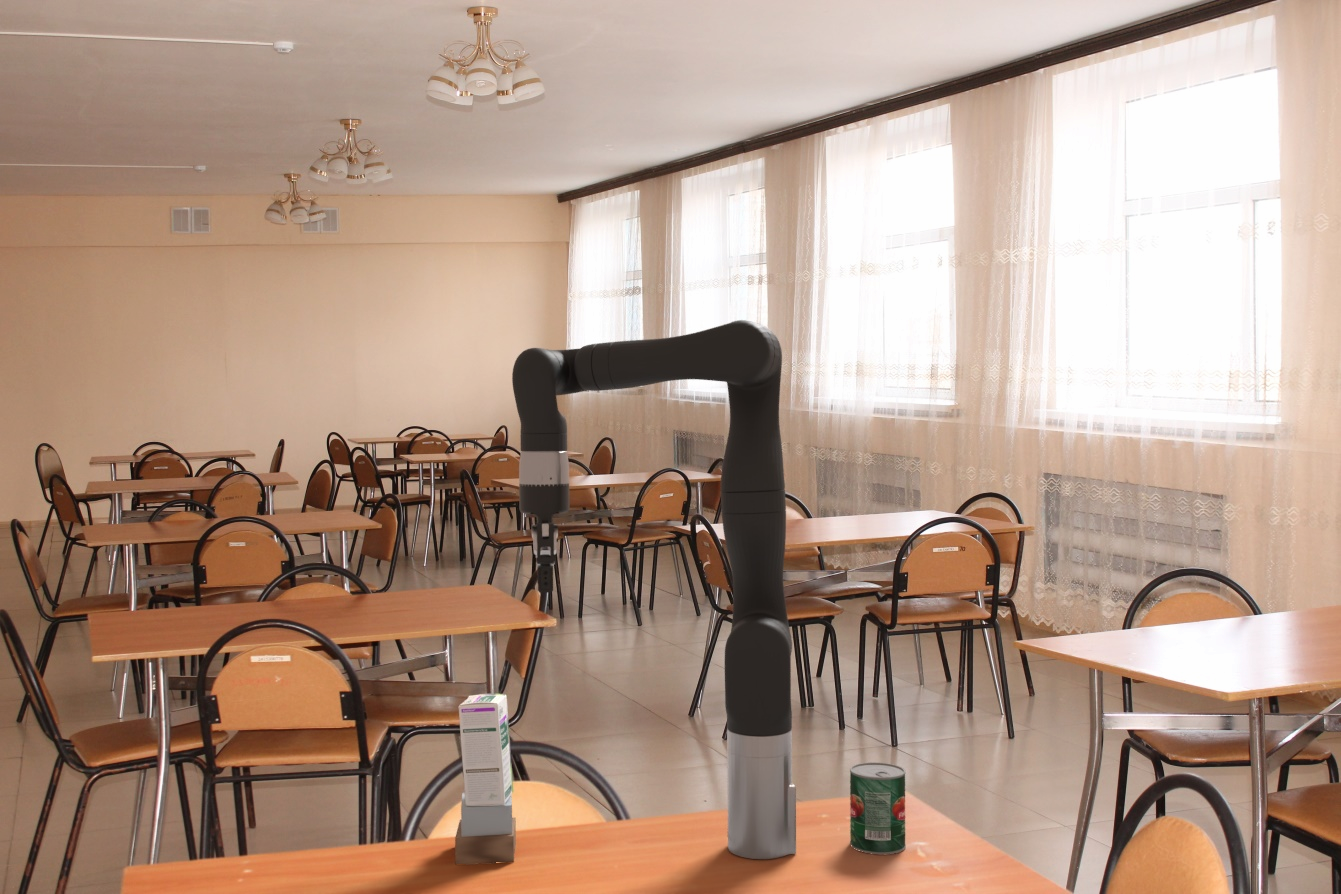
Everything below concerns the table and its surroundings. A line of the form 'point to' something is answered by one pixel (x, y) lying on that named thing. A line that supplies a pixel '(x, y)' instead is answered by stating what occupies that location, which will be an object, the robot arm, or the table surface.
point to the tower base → (485, 847)
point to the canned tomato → (877, 808)
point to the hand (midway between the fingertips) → (545, 588)
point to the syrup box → (486, 750)
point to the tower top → (486, 819)
